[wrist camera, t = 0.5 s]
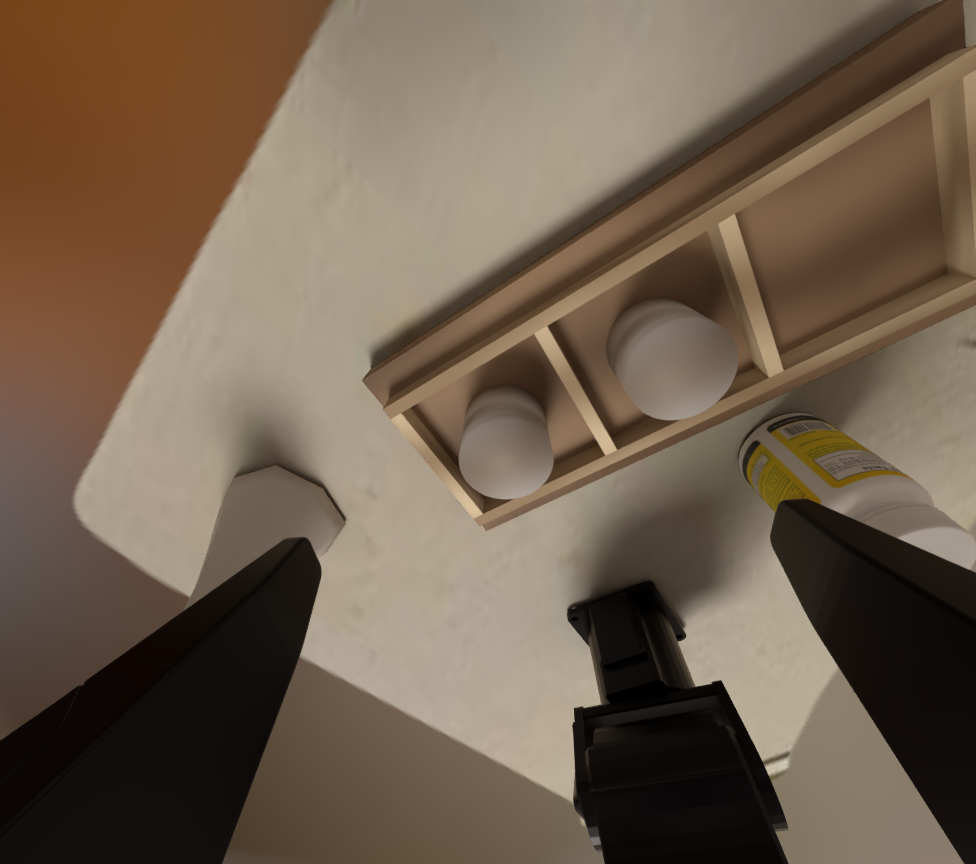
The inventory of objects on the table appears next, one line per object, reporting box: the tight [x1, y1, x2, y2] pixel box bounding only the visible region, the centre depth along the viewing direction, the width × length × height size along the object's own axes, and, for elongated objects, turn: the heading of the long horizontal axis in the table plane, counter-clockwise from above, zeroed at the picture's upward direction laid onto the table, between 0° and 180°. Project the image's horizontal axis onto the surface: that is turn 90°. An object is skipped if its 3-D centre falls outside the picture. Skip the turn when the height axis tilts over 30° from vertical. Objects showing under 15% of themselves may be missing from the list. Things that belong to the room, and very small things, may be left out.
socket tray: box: [362, 0, 976, 531], centre depth 18 cm, size 11×24×5 cm, turn 122°
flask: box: [183, 465, 346, 611], centre depth 22 cm, size 7×7×10 cm
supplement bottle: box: [738, 413, 976, 569], centre depth 19 cm, size 5×5×8 cm
